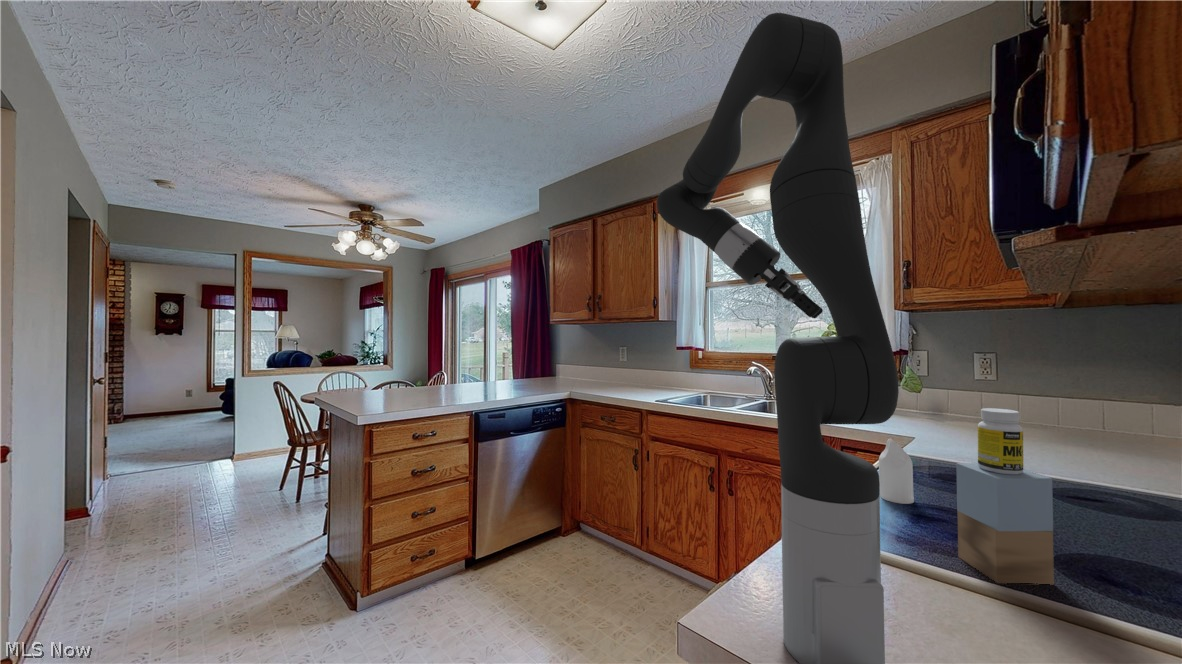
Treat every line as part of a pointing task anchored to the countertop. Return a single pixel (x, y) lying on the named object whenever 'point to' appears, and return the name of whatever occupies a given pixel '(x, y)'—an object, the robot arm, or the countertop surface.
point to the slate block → (1005, 498)
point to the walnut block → (1006, 552)
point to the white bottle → (896, 474)
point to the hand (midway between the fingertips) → (817, 314)
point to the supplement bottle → (1000, 441)
